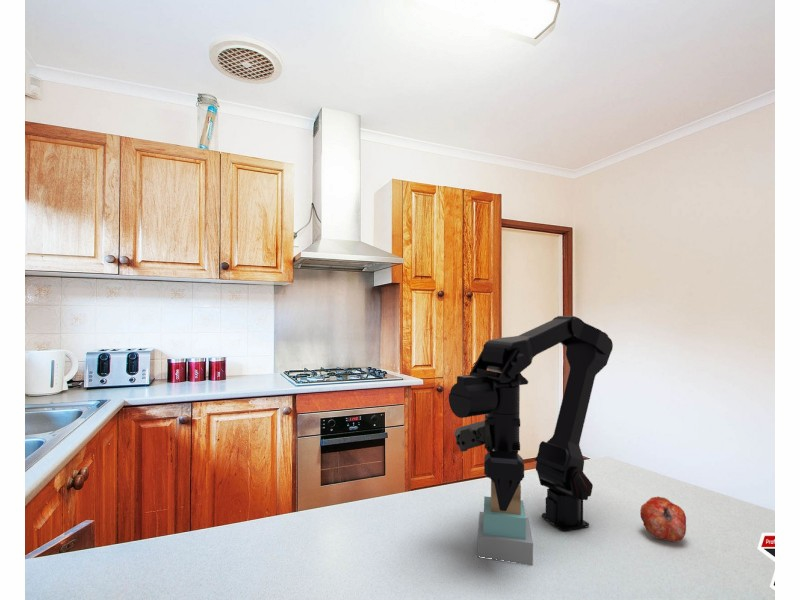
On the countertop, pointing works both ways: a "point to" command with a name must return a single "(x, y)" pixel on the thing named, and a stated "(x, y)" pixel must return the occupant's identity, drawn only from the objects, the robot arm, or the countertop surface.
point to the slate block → (505, 545)
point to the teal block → (504, 522)
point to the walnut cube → (514, 504)
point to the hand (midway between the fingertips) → (502, 498)
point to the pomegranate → (663, 519)
